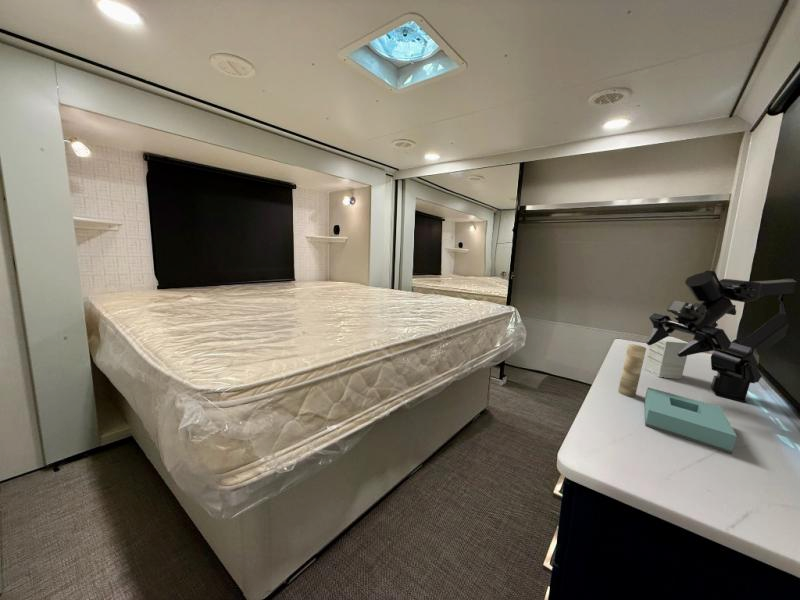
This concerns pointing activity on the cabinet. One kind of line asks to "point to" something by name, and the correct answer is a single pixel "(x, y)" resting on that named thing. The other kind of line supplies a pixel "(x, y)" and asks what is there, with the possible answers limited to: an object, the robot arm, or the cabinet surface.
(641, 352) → the maple pin
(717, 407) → the pin block
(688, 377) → the cabinet surface
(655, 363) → the supplement box
